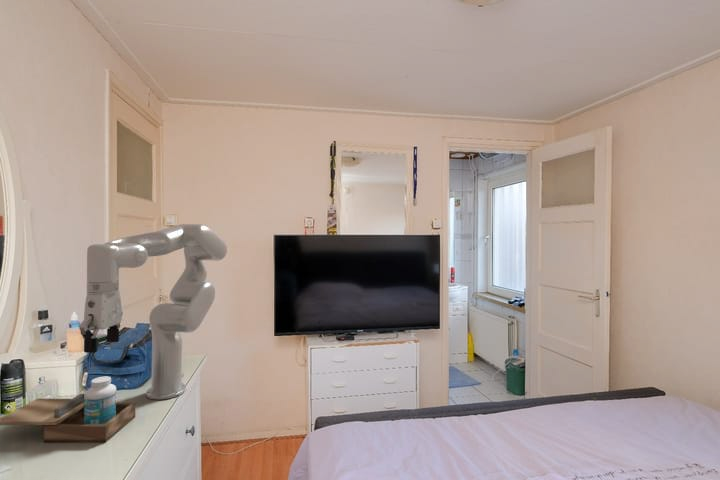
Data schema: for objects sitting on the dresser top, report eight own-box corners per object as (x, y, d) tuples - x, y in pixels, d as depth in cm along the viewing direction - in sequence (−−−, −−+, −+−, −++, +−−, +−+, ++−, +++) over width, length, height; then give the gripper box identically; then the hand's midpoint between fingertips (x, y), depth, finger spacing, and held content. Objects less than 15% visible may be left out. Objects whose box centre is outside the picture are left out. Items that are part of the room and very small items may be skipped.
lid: (37, 401, 111) (37, 390, 111) (92, 401, 112) (92, 390, 112) (-7, 424, 97) (-7, 412, 97) (56, 424, 98) (56, 412, 98)
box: (81, 417, 112) (81, 402, 112) (135, 417, 113) (135, 402, 113) (43, 442, 98) (44, 426, 98) (105, 442, 99) (106, 426, 99)
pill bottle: (77, 429, 103) (78, 381, 103) (103, 417, 110) (104, 372, 110) (96, 435, 101) (97, 385, 101) (121, 422, 108) (122, 376, 108)
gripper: (96, 292, 97) (95, 357, 97) (133, 283, 114) (132, 338, 114) (66, 292, 96) (66, 356, 97) (108, 283, 114) (108, 338, 114)
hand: (102, 346), depth 105 cm, fingers open, 9 cm apart
